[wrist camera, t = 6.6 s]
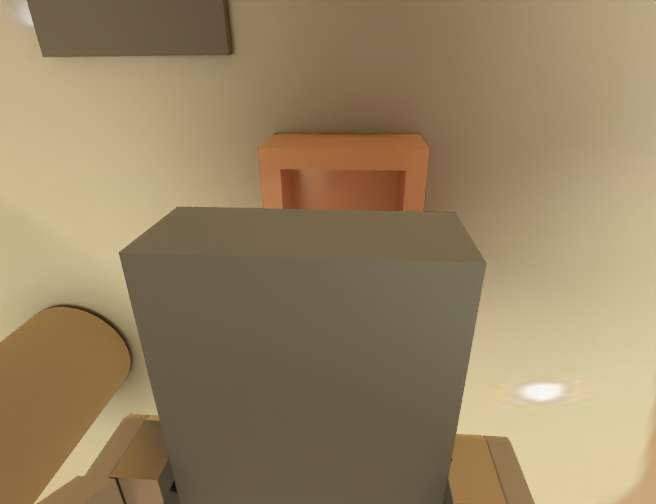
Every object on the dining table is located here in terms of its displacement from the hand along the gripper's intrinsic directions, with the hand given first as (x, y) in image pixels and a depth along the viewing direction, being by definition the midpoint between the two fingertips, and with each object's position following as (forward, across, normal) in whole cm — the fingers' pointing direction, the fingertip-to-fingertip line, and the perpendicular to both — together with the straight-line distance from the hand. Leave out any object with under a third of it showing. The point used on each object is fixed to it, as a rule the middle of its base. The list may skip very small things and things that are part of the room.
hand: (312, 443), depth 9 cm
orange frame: (+17, 0, 0) cm, 17 cm away
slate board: (+1, 0, 0) cm, 1 cm away
